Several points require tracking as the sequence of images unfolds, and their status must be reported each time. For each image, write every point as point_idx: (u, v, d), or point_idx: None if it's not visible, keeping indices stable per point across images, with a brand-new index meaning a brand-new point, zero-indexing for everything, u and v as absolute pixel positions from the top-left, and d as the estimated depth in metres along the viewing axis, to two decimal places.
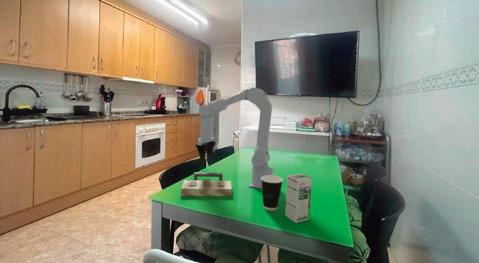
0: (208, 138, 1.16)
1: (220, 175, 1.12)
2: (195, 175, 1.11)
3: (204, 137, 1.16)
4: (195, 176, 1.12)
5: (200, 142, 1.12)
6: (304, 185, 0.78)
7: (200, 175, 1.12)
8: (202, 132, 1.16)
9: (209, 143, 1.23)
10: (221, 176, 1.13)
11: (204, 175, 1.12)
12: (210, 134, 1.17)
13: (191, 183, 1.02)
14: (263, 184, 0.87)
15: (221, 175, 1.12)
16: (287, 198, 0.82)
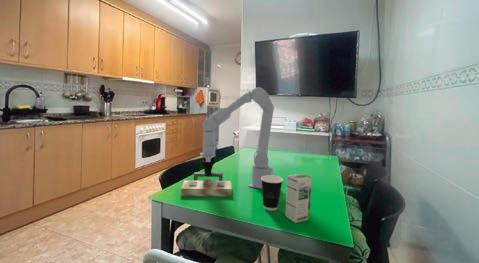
0: (213, 153, 1.10)
1: (220, 175, 1.12)
2: (195, 175, 1.11)
3: (209, 153, 1.09)
4: (195, 176, 1.12)
5: (209, 159, 1.05)
6: (304, 185, 0.78)
7: (200, 175, 1.12)
8: (207, 147, 1.09)
9: None
10: (221, 176, 1.13)
11: (204, 175, 1.12)
12: (214, 149, 1.11)
13: (191, 183, 1.02)
14: (263, 184, 0.87)
15: (221, 175, 1.12)
16: (287, 198, 0.82)
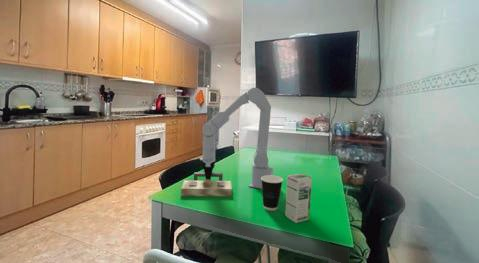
0: (213, 158, 1.10)
1: (220, 175, 1.12)
2: (195, 175, 1.11)
3: (209, 157, 1.09)
4: (195, 176, 1.12)
5: (209, 164, 1.05)
6: (304, 185, 0.78)
7: (200, 175, 1.12)
8: (206, 152, 1.09)
9: None
10: (221, 176, 1.13)
11: (204, 175, 1.12)
12: (214, 153, 1.11)
13: (191, 183, 1.02)
14: (263, 184, 0.87)
15: (221, 175, 1.12)
16: (287, 198, 0.82)
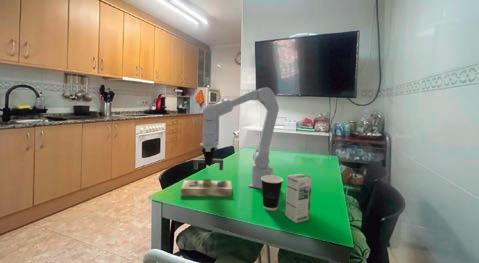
0: (213, 143, 1.07)
1: (221, 161, 1.09)
2: (195, 161, 1.08)
3: (209, 142, 1.06)
4: (195, 162, 1.08)
5: (209, 148, 1.02)
6: (304, 185, 0.78)
7: (200, 161, 1.08)
8: (207, 137, 1.06)
9: None
10: (222, 162, 1.09)
11: (204, 161, 1.09)
12: (214, 139, 1.08)
13: (191, 183, 1.02)
14: (263, 184, 0.87)
15: (222, 161, 1.09)
16: (287, 198, 0.82)
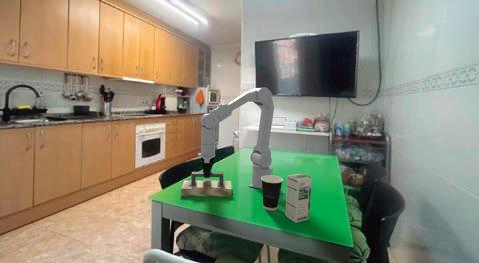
0: (212, 153, 0.99)
1: (221, 175, 1.01)
2: (193, 175, 1.00)
3: (208, 152, 0.98)
4: (193, 176, 1.00)
5: (208, 159, 0.94)
6: (304, 185, 0.78)
7: (198, 175, 1.00)
8: (205, 147, 0.98)
9: None
10: (222, 176, 1.01)
11: (203, 175, 1.01)
12: (214, 148, 1.00)
13: None
14: (263, 184, 0.87)
15: (222, 175, 1.01)
16: (287, 198, 0.82)
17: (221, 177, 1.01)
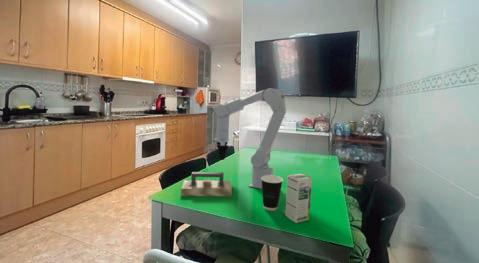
0: (226, 138, 1.16)
1: (221, 175, 1.01)
2: (193, 175, 1.00)
3: (223, 137, 1.15)
4: (193, 176, 1.00)
5: (224, 143, 1.11)
6: (304, 185, 0.78)
7: (198, 175, 1.00)
8: (221, 132, 1.15)
9: None
10: (222, 176, 1.01)
11: (203, 175, 1.01)
12: (228, 134, 1.17)
13: None
14: (263, 184, 0.87)
15: (222, 175, 1.01)
16: (287, 198, 0.82)
17: (221, 177, 1.01)
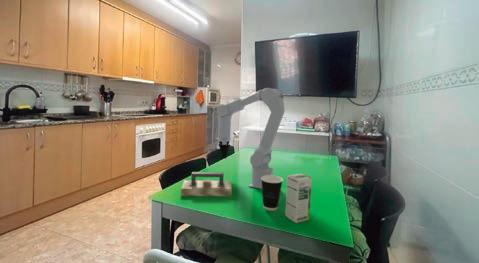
0: (228, 137, 1.19)
1: (221, 175, 1.01)
2: (193, 175, 1.00)
3: (225, 137, 1.18)
4: (193, 176, 1.00)
5: (225, 142, 1.14)
6: (304, 185, 0.78)
7: (198, 175, 1.00)
8: (223, 132, 1.17)
9: None
10: (222, 176, 1.01)
11: (203, 175, 1.01)
12: (229, 133, 1.19)
13: None
14: (263, 184, 0.87)
15: (222, 175, 1.01)
16: (287, 198, 0.82)
17: (221, 177, 1.01)
